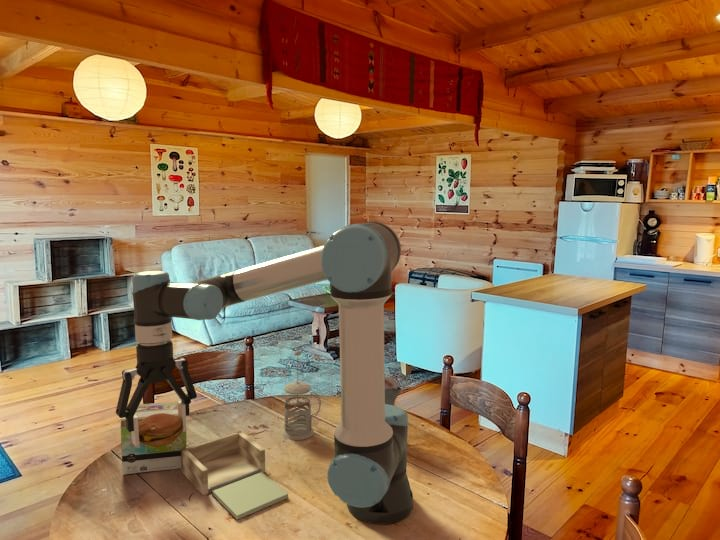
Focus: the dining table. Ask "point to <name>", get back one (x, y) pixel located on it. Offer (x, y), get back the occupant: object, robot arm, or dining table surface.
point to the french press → (302, 424)
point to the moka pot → (391, 390)
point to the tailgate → (248, 493)
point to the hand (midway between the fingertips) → (159, 436)
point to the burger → (159, 429)
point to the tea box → (146, 455)
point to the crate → (221, 460)
